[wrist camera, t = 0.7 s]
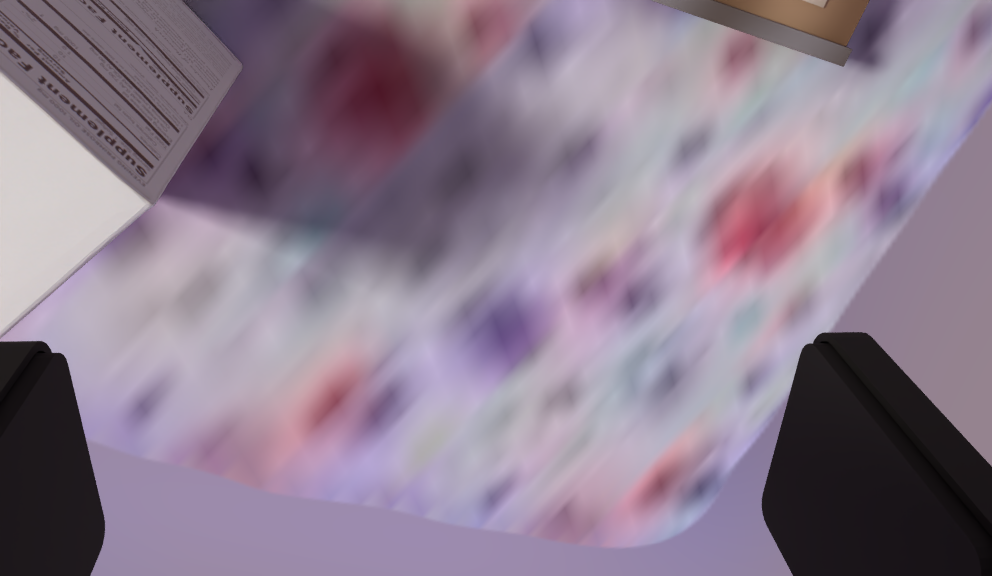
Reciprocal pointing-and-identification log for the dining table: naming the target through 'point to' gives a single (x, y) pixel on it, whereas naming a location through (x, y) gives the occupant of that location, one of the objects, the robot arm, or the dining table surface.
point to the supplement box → (93, 127)
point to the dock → (786, 22)
